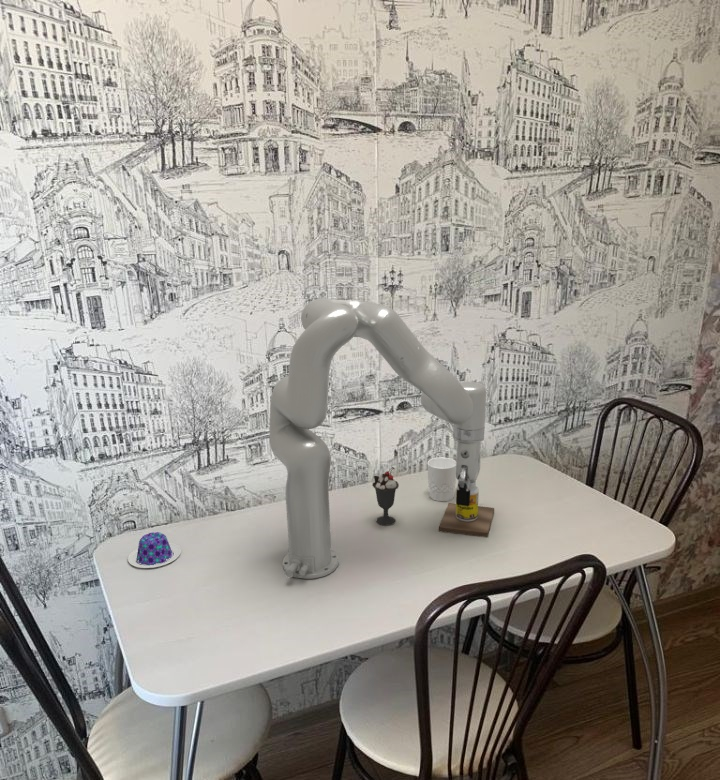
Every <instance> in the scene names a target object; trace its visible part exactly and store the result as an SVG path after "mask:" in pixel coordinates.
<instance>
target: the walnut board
mask: <svg viewBox="0 0 720 780" xmlns="http://www.w3.org/2000/svg"><path fill="white" fill-rule="evenodd" d="M445 508H446V509H445V511H444V513H443V516H442V518H441V520H440V523H439V524H438V525H439V526H438V532H440V531H442V532H441V533H448V532H450V533H451V534H456V535H457V534H458V535H465V536H466V535H467V536H474V537H483V538H488V537H489V533H490V529H491V525H492V522H493V518H494V514H495V507H491V506H490V507H489V506H481V505H478V517H477V519H476V520H474V521H470V522H466V521H461V520H459V519H458V518H457V517H456V502H455V503H454V502H453V503H452V502H448V503H447V506H446V507H445ZM450 533H449V534H450Z"/></svg>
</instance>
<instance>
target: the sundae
mask: <svg viewBox="0 0 720 780" xmlns="http://www.w3.org/2000/svg"><path fill="white" fill-rule="evenodd" d="M394 469H395V467H393V466H391V468H390V469H389V470H388V471H385V473H382V474H381V475H374V476H373V480H374V482H372V485H371V486H372V488H374V489H375V494H376V495H375V496H376V501H377V505H378V507H380V508H381V509H383V514H382V516H379V517H377V519H376V520H375V521H376V523H377V524H378V525H381V526H391V525H393V524H395V523H396V519H395V518H394V517H393V516H389V509H391V508H392V507H393V506H394V504H395V503H394V502H395V497H396V491H397V489H399V483H398V481H396V480H395V479H394V475H392V474H391V473H392V470H394Z"/></svg>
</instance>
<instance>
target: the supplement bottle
mask: <svg viewBox="0 0 720 780" xmlns="http://www.w3.org/2000/svg"><path fill="white" fill-rule="evenodd" d="M465 483H466V485H467V482H465ZM476 485H477V480H476V481H475V482H473V481H470V486H469V490H470V504H469V506H463V505H457V504H456V503H455V504H456V517H457V518H458V519H459V520H461V521H466V522H470V521H474V520H476V519H477V517H478V506H479V493H480V492H479V488H478V486H476ZM455 492H456V493H455V497H456V496H457V487H455Z"/></svg>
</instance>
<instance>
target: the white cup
mask: <svg viewBox="0 0 720 780" xmlns="http://www.w3.org/2000/svg"><path fill="white" fill-rule="evenodd" d="M427 479H428V481H427V482H428V487H429V489H428V490H429V498H430V499H431V500H433V501H436V502H449V501H452V500H453V499H454V498H455V490H456V479H457V478H456V460H455V459H453V458H451V457H450V458H449V457H444V456H443V457H441V456H439V457H433V458H430V459H429V460H428V461H427Z"/></svg>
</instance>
